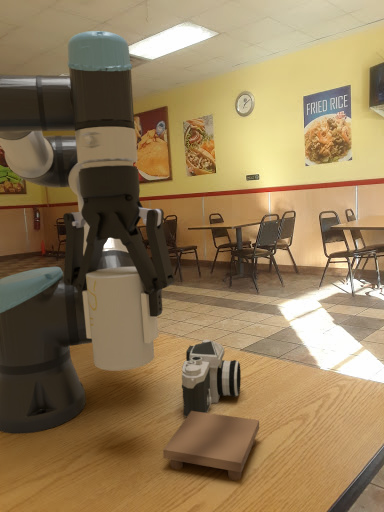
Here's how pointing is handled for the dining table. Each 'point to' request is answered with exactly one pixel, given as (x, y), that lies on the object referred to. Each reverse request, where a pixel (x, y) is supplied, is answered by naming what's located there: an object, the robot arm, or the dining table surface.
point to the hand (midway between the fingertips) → (122, 337)
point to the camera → (208, 376)
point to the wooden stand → (213, 442)
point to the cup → (117, 319)
